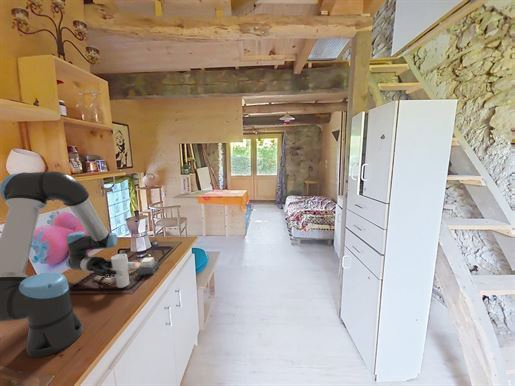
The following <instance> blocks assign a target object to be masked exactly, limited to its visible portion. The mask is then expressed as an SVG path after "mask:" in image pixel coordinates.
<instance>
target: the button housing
mask: <svg viewBox="0 0 515 386" xmlns="http://www.w3.org/2000/svg"><path fill="white" fill-rule="evenodd" d="M154 262H155V263H154V264H153V265H152V266H151V267H141V265H140V266H139V267H138V268H137V272H136V273H137V276H139V277H141V275H142V276H145V275H144V274H147V275H146V276H154V275H155V274H156V272H157V271H158V270H159V269H160V264H159V260H154Z"/></svg>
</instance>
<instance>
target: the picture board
mask: <svg viewBox="0 0 515 386" xmlns="http://www.w3.org/2000/svg"><path fill="white" fill-rule="evenodd" d="M130 262H133V263H135V265H136V268H135V269H133V268H128V270H129V275H130V274H132V275H134V274H135V272H136V273H138V272H137V268H138V267H139V266H140V265H141V261H137V260H132V261H130ZM133 273H134V274H133ZM130 276H131V275H130ZM102 277H103V276H99V275H96V277H93V279H96V280H98V281H99V280H100V279H101V278H102ZM96 280H95V281H96ZM98 281H97V282H98ZM115 281H116V279H112V278H105V279H104V280H103V282H104V283H106V284H111V283H113V282H115ZM106 284H105V285H106ZM111 285H112V284H111Z"/></svg>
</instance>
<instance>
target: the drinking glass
mask: <svg viewBox="0 0 515 386" xmlns="http://www.w3.org/2000/svg"><path fill="white" fill-rule="evenodd" d="M110 260H111V263H112V268H114V269H121V270H123V276H119V275H115V279H116V283H115V284H116V287H117V288H119V289H121V288H125V287H127V286H129V285H130V276H129V270H128V261H129V259H128V255H127V253H118V254H115V255H113V256H111V257H110ZM112 268H111V269H112Z"/></svg>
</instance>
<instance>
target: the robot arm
mask: <svg viewBox="0 0 515 386" xmlns="http://www.w3.org/2000/svg"><path fill="white" fill-rule="evenodd" d="M0 197H1V198H2V199H3V200H4V204H5V206H7V207H8V211H7V215H6V218H5V221H4V225H3V228H2V230H1V231H2V232H1V234H0V323H2V322H3V323H4V322H10V321H18V320H24V319H25V320H27V325H28V334H27V339H26V342H25V350H26V354H27V355H28V356H29V357H31V358H41V357H46V356H50V355H53V354H55V353H58V352H60V351H62V350H64V349H66V348H67V347H68V346H70V345H72V344H73V343H74V342H76V341H77V340H78V339H79V338H80V336H81V335H82V333H83V331H84V328H83V323H82V321H81V320H80V319H79V317H78V316H77V315H76V313H75V312H74V309H73V304H72V300H71V299H72V298H71V294H70V293H71V292H70V285H69V283H68V279H67V277H66V275H64V274H63V273H60V272H57V271H47V272H42V273H38V274H33V275H31V276H28V275H27V274H26V271H27V270H26V269H27V266H28V261H29V257H30V253H31V248H32V244H33V241H34V237H35V233H36V232H35V231H36V228H37V224H38V219H39V216H40V212H41V211H42V210H44V209H46V207H47V204H48V202H49V201H60V202H62V203H63V205H64V206H65V207H69V208H70V210H71V211H72V213H73V214H74V216H75V217H76V218H77V220H78V221H79V222H80V224H81V226H82V227H83V228H84V230H85V231H86V233H87V235H86V234H85V232H84V231H75V232H71V233H68V234H67V235H66V245H67V249H68V254H69V256H68V257H67V259H66V262H65V264H66V267H67V268H68V269H71V270H75V271H76V270H78V271H84V272H89V275H95V276H103V277H105V276H106V275H108V277H109V276H111V275H119V276H123V270H121V269H114V268H112V263H111V259H105V258H104V257H102V256H95V255H89V253H88V251H93V250H102V249H111V248H115V247H116V246H117V245H118V235H117V234H116V233H115V232H109V231H108V229H107V228H106V226H105V224H104V222H103V221H102V219H101V217H100V216H99V214H98V212H97V211H96V209H95V207H94V206H93V204H92V201H90V199H89V198H90V194H89V192H88V191H87V188H86V187H85V186H84V185H83V184H82V183H81V182H80V181H79V180H77V179H76V178H75V177H73V176H71V175H69V174H68V173H65V172H62V171H59V170H58V171H57V170H51V171H39V172H38V171H37V172H36V171H35V172H34V171H33V172H25V171H24V172H18V173H12V174H9V175H8V176H5V178H4V179H3V180H2V181H1V184H0ZM128 268H133V269H135V268H136V265H135V263H133V262H131V261H129V260H128Z"/></svg>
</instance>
